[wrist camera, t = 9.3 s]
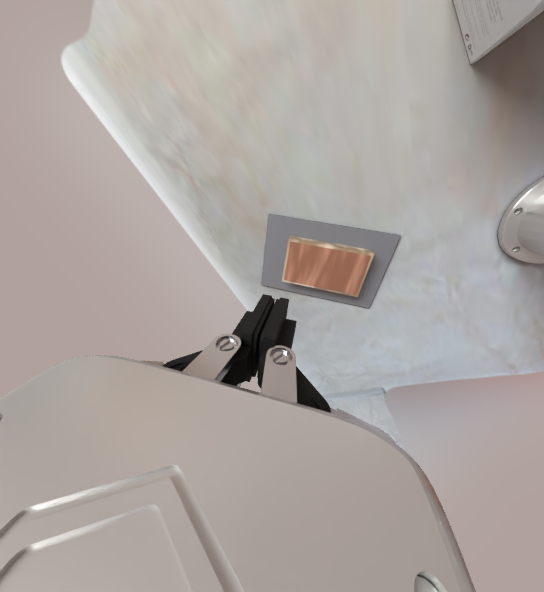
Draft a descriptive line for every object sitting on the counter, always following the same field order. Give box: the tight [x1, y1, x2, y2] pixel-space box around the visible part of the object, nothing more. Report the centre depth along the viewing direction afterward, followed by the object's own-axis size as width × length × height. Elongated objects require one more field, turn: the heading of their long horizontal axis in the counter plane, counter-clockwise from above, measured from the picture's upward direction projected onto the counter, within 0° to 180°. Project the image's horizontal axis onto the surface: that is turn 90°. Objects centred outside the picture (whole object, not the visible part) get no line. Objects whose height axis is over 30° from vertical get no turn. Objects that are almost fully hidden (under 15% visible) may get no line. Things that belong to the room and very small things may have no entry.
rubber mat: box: [261, 214, 401, 308], centre depth 37 cm, size 22×14×1 cm, turn 83°
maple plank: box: [282, 236, 374, 297], centre depth 35 cm, size 3×8×14 cm
